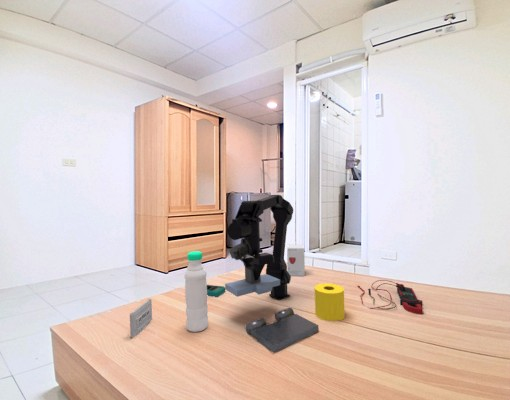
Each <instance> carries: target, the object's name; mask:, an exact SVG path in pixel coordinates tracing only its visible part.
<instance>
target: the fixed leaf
mask: <svg viewBox="0 0 510 400" xmlns="http://www.w3.org/2000/svg"><path fill="white" fill-rule="evenodd" d="M274 318H275V321H274V322H272V323H269V324H267V320H266V318H264V317H260V318H258V319H255V320H252V321H250V322H246V323H245V331H246V333H247V334H248V335H250V336H251V337H252V338H253V339H255V341H257V342H258V343H260V344H261V345H263V346H264V347H265V348H267V350H269V351H270V352H272V353H274V354H275V353H277V352H279V351H280V350H284V349H286V348H287V347H289V346H291V345H293V344H296V343H298V342H300V341H302V340H304V339H306V338H308V337H310V336H312V335H314V334H316V333H319V332H320V330H319V324H317V323H315V322H313V321H311V320H309V319H307V318H305V317H303V316H302V315H299V314H297V313H295V311H294V309H293V308H292V307H288V308H285V309H282V310H280V311H277V312H275V313H274Z"/></svg>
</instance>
